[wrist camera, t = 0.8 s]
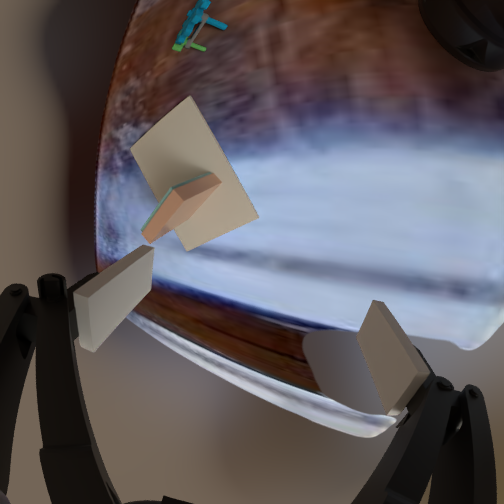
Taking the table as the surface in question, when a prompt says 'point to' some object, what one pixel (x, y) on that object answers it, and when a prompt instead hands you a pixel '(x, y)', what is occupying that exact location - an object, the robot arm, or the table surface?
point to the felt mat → (193, 173)
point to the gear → (194, 18)
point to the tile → (179, 205)
